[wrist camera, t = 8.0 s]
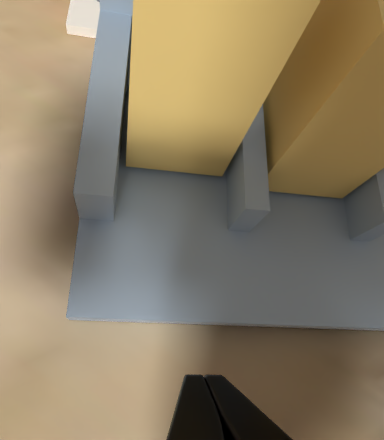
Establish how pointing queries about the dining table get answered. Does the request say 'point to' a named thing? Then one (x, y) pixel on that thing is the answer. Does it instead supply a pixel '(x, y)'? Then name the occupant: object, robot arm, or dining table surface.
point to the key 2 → (204, 76)
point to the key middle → (329, 103)
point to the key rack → (211, 228)
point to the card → (83, 18)
